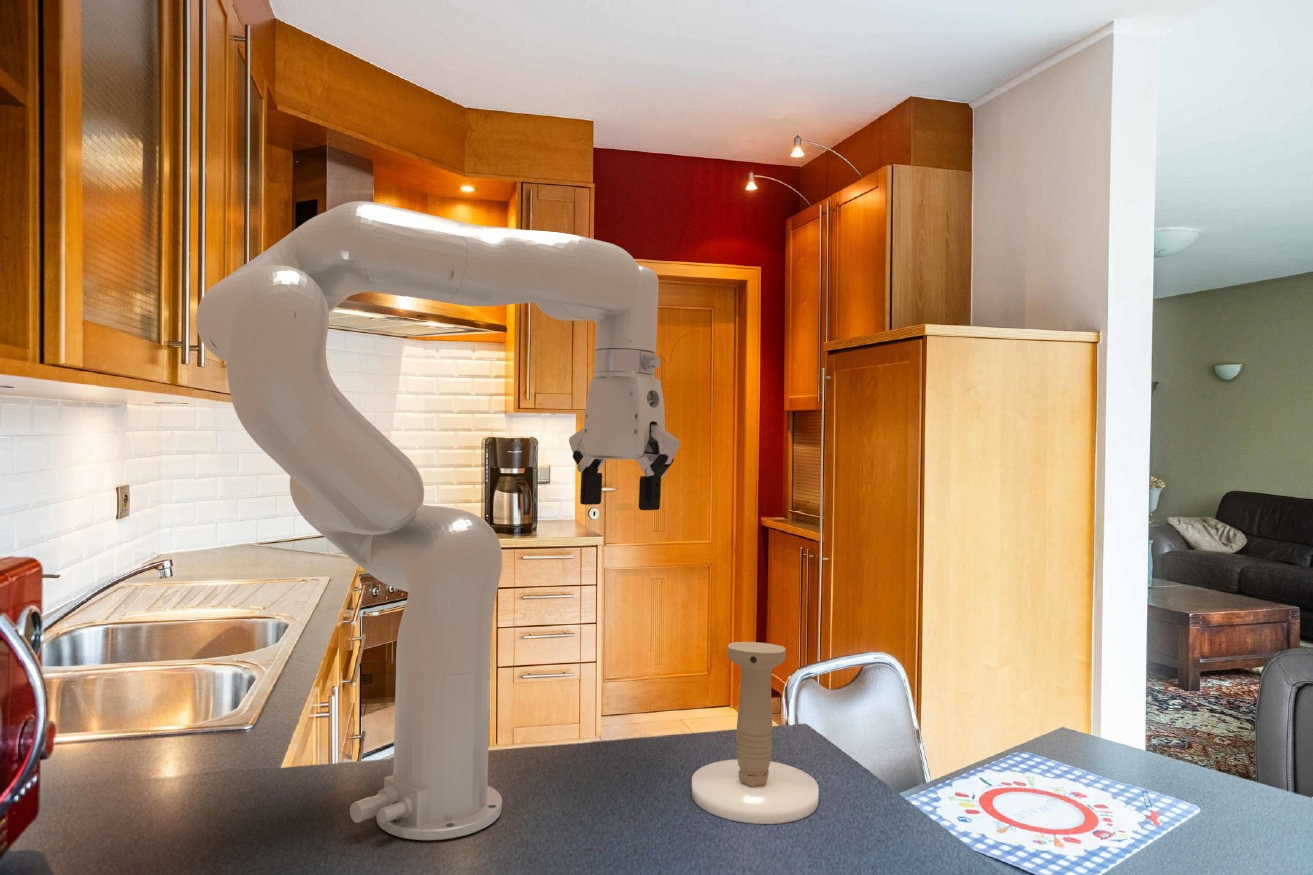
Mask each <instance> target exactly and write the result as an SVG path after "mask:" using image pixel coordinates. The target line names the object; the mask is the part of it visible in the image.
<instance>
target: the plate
mask: <svg viewBox="0 0 1313 875" xmlns="http://www.w3.org/2000/svg"><path fill="white" fill-rule="evenodd" d="M768 770H769V774H768V779H767V782H766V784H765V785H764V786H754V787H751V786H749V785H747V784H744V783H741V782H740V781H739V774H738V771H740V767H739V765H738V759H737V758H736V759H726V760H725V759H724V760H720V761H715V762H711V763H709V764H706V765H703V766H701V767H700V768H698V769H696V771H695V772H694V773H693V775H692V776H691V798H692V800H693V801H694V803H695V804H696V805H697V806H698V807H699V808H701V809H702V810H704V811H705V812H708V813H709V814H712V815H713V816H717V817H719V818H722V819H726V820H730V821H735V822H740V823H744V824H745V823H746V824H754V825H755V824H756V825H774V824H785V823H791V822H795V821H799V820H801V819H804V818H806V817H808V816H810V815H811V814H813V813H814V812H815V811H816V810H817V808H818V806H819V792H820V791H819V785H818V782H817V781H816V779H814V778H813V777H812V776H811V775H810V774H808V773H806V772H805V771H803V770H801V769H799V768H797V767H794V766H791V765H788V764H784V763H782V762H781V763H780V762H776V761H771V760H770V765H769V769H768Z"/></svg>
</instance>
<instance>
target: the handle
mask: <svg viewBox="0 0 1313 875" xmlns="http://www.w3.org/2000/svg"><path fill="white" fill-rule="evenodd" d="M786 652H787V650H786V647H784V646H783V645H779V644H773V643H767V642H756V641H736V642H730V643H728V644H727V657H728V659H729V660H730V661H731V662H733V663H734V664H736V665H737V666H738V667H739V668H740V683H739V685H740V686H739V696H738V697H739V698H738V700H739V701H738V708H737V709H738V710H737V711H738V712H737V721H736V736H735V737H736V740H735V742H736V759H738V765H739V767H740V771H738V774H739V781H740V782H741V783H744V784H747V785H749V786H751V787H754V786H764V785H765V784H766V782H767V779H768V774H769V770H768V769H769V765H770V761H771V760H772V750H773V736H774V735H773V733H774V732H773V730H774V729H773V728H774V727H773V711H772V710H773V708H772V705H773V704H772V674H773V673H772V671H773V669H774V668H776V667H778V666H780V665H781V664H783V663H784V662H785V661H786V656H787V655H786Z"/></svg>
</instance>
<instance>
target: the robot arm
mask: <svg viewBox="0 0 1313 875" xmlns="http://www.w3.org/2000/svg"><path fill="white" fill-rule="evenodd" d="M366 292H367V293H379V294H385V295H391V296H397V297H404V298H405V297H408V298H414V299H415V298H416V299H420V300H421V299H422V300H429V301H434V302H435V301H436V302H440V303H444V304H452V305H458V306H466V307H499V306H508V305H509V306H510V305H515V304H516V305H517V304H532V303H534V304H535V305H536V306H537V307H538V309H539V310H540V311H541V312H542V313H543V314H545V315H547V316H548V317H550V318H552V319H556V320H559V321H567V322H568V321H569V322H571V321H574V322H575V321H579V322H581V321H583V322H585V321H586V322H588V321H589V322H594V324H595V336H594V337H595V338H594V339H595V340H594V360H593V361H594V362H593V364H594V365H593V378H591V379H590V384H589V387H588V392H587V399H586V403H585V404H586V405H585V411H584V421H583V427H582V428H581V429H579V430H578V431H577V432H575V433H574V434H572V435H571V436H570V437H569V438H568V443H569V445H570V450H571V452H572V459H573V460H574V462H575V463H576V465H577V472H578V473H581V474H580V477H581V478H580V496H579V501H580V502H579V503H580V504H581V505H585V506H586V505H588V506H591V505H593V506H594V505H600V504H601V503H602V495H603V494H602V492H603V490H602V489H603V473H602V472H599V470H600V469H601V468H602V466H603V465H604V463H605V461H606V460H607V459H609V460H610V459H613V460H636V461H637V462H636V463H637V464H638V465H639V467H640V469H641V471H642V472H643V474H644V475H640V476H639V477H640V478H639V484H638V485H639V487H638V488H639V491H638V509H639V510H640V511H659V510H660V509H661V507H660V506H661V494H662V492H661V491H662V490H661V489H662V478H663V477H665V476H666V475H667V470H669V468H670V466H672V465H673V463H674V461H675V456H676V454H677V452H678V450H679V447H680V445H681V442H680V440H679V439H678V438H676V437H675V436H674V435H673V434H672V433H669V432H668V431H667V430H666V418H665V403H664V394H663V389H662V385H661V384H662V382H661V380H660V379H659V378H656V376H655V375H656V369H657V368H659V367H660V366H661V359H660V357H659V356H657V354H656V353H657V336H658V334H657V333H658V332H657V330H658V309H659V308H658V306H659V278H658V275H657V273H656V272H655V271H654V270H653V269H651V268H650V267H647V266H643V265H638V263H637V261H636V260H635V259H634V257H633V256H632V255H631V254H630V253H629V252H628V251H626V250H625V249H624V248H622V247H620V246H618V245H616V244H614V243H610V242H606V241H602V240H598V239H594V238H591V237H586V236H580V235H577V234H571V233H566V232H565V233H564V232H556V231H554V232H553V231H545V230H543V231H542V230H531V229H521V228H520V229H519V228H512V227H506V226H505V227H503V226H487V225H478V224H474V223H468V222H464V221H459V220H455V219H449V218H446V217H442V216H437V215H432V214H429V213H424V212H420V211H415V210H412V209H407V208H402V207H397V206H393V205H389V204H384V203H379V202H374V201H364V200H358V201H349V202H346V203H343V204H340V205H338V206H335V207H333V208H330V209H329V210H326V211H324V212H322V213H320V214H318V215H315V216H313V217H312V218H310V219H308V220H306V221H305V222H303V223H302V224H301V225H299V226H298V227H296V228H295V229H293V231H291V232H290V233H288V234H287V235H286V236H284V237H283V238H282V239H280V240H279V241H277V242H276V243H275V244H273V245H272V246H270V247H269V248H267V249H266V250H264V251H263V252H262V253H260V254H258V255H257V256H255V257H254V258H253V259H250V261H248V262H247V263H245V264H243V265H242V266H240V267H239V268H238V269H236V270H235V271H233V272H232V273H231V274H229V275H227V276H225V277H224V278H222V279H221V280H220V281H218V282H217V283H216V284H213V285H212V286H211V287H210V288H209V289H208V290H207V292H206V293H204V295H203V297H202V298H201V300H200V301H199V304H198V307H197V310H196V315H195V320H196V321H195V325H196V330H197V334H198V337H199V339H200V341H201V342H202V344H203V345H204V346H205V348H206V349H207V350H208V351H209V352H210V353H211V354H212V355H213V356H215V357H216V358H217V359H219V360H221V361H223V362H226V377H227V383H228V387H229V388H228V389H229V393H230V398H231V402H232V406H233V408H234V411H235V414H236V416H237V418H238V420H239V421H240V424H241V425H242V427H243V428H244V430H245V431H246V432H247V434H248V435H249V436H250V438H251V439H252V440H253V441H254V443H256V445H257V446H259V448H260V449H261V450H262V451H263V452H264V453H265V454H266V455H268V457H270V458H271V459H272V460H273V461H274V462H275V463H276V464H277V465H278V466H279V467H280V468H281V469H282V470H283V471H284V472H285V473H286V474H287V475H288V476H289V491H290V495H291V500H292V501H293V504H294V506H295V507H296V509H297V511H298V512H299V514H300V515H301V516H302V518H303V519H304V520H305V521H306V522H307V523H308V524H309V525H310V526H311V527H313V528H314V529H315V530H316V531H317V532H318V533H319V534H321V535H322V536H323V537H324V538H325V539H327V540H328V541H329V542H330V543H331V544H333V545H334V546H335V547H336V548H337V549H338V550H339V551H341V552H342V553H343V554H345V555H346V556H347V557H348V558H350V559H351V560H352V561H353V562H354V563H355V564H357V565H358V566H359V567H361V568H362V569H363V570H364V571H365V572H367V573H368V574H370V575H371V576H372V577H373V578H375V579H376V580H377V581H379V582H381V583H382V584H384V585H386V586H388V587H391V588H394V589H397V590H399V591H403V592H407V593H408V594H407V597H406V598H407V599H406V603H405V606H404V610H403V613H402V616H401V619H400V623H399V627H398V630H397V631H398V632H397V639H396V652H395V654H396V655H395V656H396V657H395V695H394V696H395V698H394V699H395V703H394V706H395V707H394V734H393V735H394V736H393V738H394V740H393V742H394V743H393V770H392V771H393V774H390V775H387V776H385V777H384V780H383V788H381V789H379V790H378V791H377V793H376V795H373V796H368V797H365V798H362V799H360V800H357V801H354V802H353V803H351V805H350V808H349V814H350V817H351V818H350V819H352V821H353V822H354V823H356V824H359V823H361V822H364V821H367V820H369V819H371V818H374V817H376V818H375V819H376V823H377V824H378V826H379V827H380V828H381V829H382V830H383V831H385V832H387V833H388V834H390V835H393V836H395V837H398V838H402V839H408V840H416V841H441V840H442V841H443V840H449V839H455V838H459V837H463V836H468V835H470V834H473V833H476V832H479V831H482V830H483V829H486V828H487V827H489V826H490V825H492V824H493V823H494V822H496V820H497V819H499V817H500V816H501V813H502V808H503V798H502V794H500V793H499V791H498V790H496V789H495V788H494V787H492V786H490V785H488V783H489V782H488V781H489V780H488V776H489V775H488V773H489V737H490V704H491V703H490V702H491V701H490V700H491V696H490V694H491V666H492V665H491V658H492V657H491V654H492V653H491V652H492V630H493V629H492V628H493V618H494V610H495V604H496V599H497V593H498V589H499V585H500V579H501V575H502V569H503V551H502V546H501V542H500V540H499V537H498V535H497V533H496V532H495V530H494V529H493V527H491V525H490V524H489V523H488V522H487V521H486V520H485V519H483V518H482V517H480V516H478V515H477V514H474V513H473V512H470V511H467V510H463V509H460V508H458V509H457V508H453V507H447V506H439V505H437V506H436V505H427V504H423V503H424V498H425V487H424V482H423V479H422V476H421V474H420V472H419V470H418V468H417V467H416V466H415V464H414V463H413V461H412V460H411V459H410V458H409V457H408V456H407V455H406V454H404V452H402V451H401V450H400V449H399V448H398V447H397V446H396V445H394V443H393V442H392V441H391V440H390V439H388V438H387V437H386V436H385V435H384V434H383V433H382V432H381V431H380V430H379V429H378V428H377V427H376V426H375V425H374V424H373V423H371V422H370V421H369V420H368V419H367V418H366V417H365V416H364V415H363V414H362V413H361V412H360V411H359V410H357V409H356V407H355V406H354V405H353V404H352V402H350V401H349V399H348V398H347V397H346V396H345V395H344V394H343V393H342V392H341V391H340V389H339V387H338V386H337V385H336V384H335V382H334V380H333V378H332V376H331V374H330V370H329V367H328V362H327V360H328V359H327V340H328V335H329V334H328V333H329V328H330V313H331V312H332V311H334V309H335V308H337V307H338V306H339V305H340V304H341V303H343V302H344V301H345V300H346V299H348V298H349V297H351V296H354V295H357V294H358V295H359V294H361V293H362V294H363V293H366Z"/></svg>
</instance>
